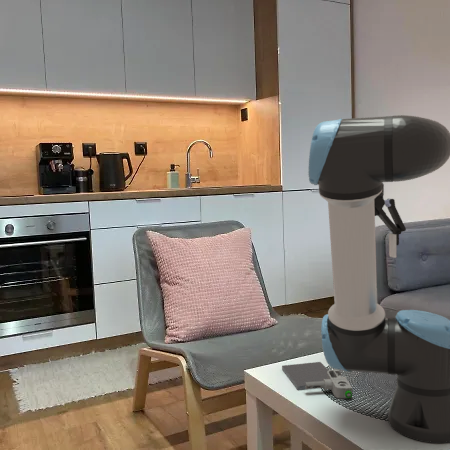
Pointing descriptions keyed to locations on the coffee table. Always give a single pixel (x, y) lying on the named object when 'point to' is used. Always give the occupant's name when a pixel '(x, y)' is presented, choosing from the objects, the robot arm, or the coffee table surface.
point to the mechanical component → (333, 384)
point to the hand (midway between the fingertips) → (370, 258)
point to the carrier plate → (305, 373)
